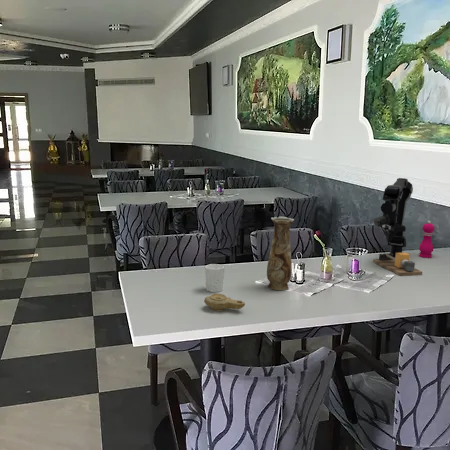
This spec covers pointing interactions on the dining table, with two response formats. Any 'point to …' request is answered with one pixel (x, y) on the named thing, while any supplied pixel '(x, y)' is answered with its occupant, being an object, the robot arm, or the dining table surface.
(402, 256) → the sleeve
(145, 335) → the dining table surface
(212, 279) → the white cup
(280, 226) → the vase
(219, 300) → the oil lamp
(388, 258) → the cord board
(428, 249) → the pepper mill
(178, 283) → the dining table surface
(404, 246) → the robot arm
